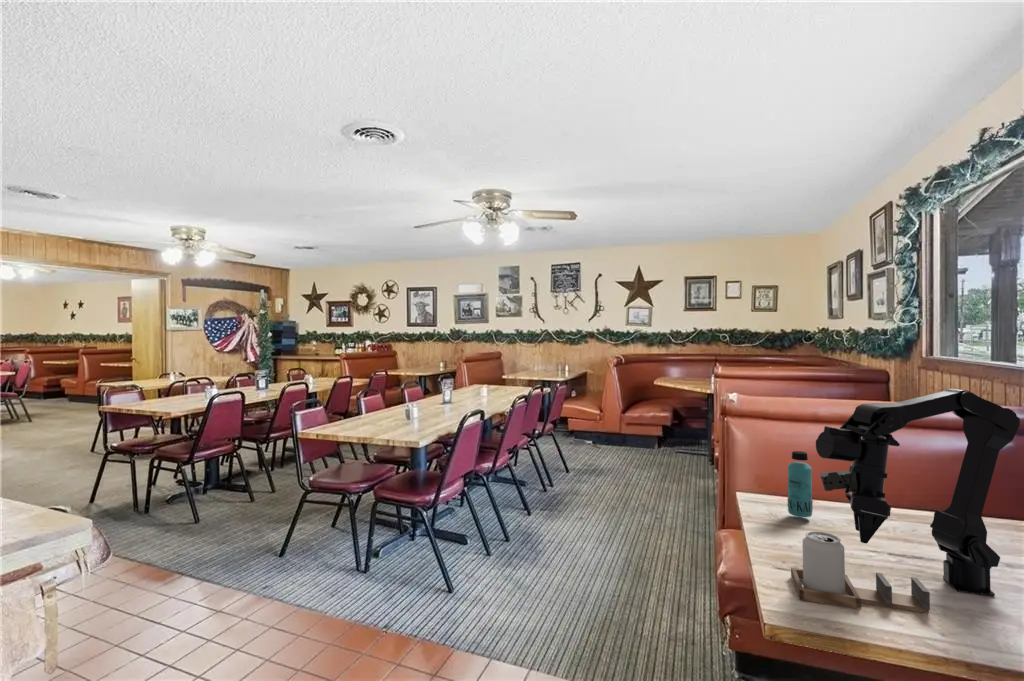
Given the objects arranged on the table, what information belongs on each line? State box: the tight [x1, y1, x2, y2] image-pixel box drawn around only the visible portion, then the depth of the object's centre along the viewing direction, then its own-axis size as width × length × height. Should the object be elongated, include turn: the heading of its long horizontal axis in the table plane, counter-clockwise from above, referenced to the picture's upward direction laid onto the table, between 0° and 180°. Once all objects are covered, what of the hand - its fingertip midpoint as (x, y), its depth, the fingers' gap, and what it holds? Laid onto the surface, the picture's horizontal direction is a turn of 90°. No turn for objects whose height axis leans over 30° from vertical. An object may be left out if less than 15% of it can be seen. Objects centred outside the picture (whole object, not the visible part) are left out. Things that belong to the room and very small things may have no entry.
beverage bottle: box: [786, 450, 814, 518], centre depth 146 cm, size 6×7×20 cm
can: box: [802, 530, 846, 595], centre depth 103 cm, size 8×8×12 cm
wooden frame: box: [790, 567, 931, 614], centre depth 101 cm, size 22×11×4 cm, turn 68°
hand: (861, 536), depth 104 cm, fingers open, 9 cm apart
